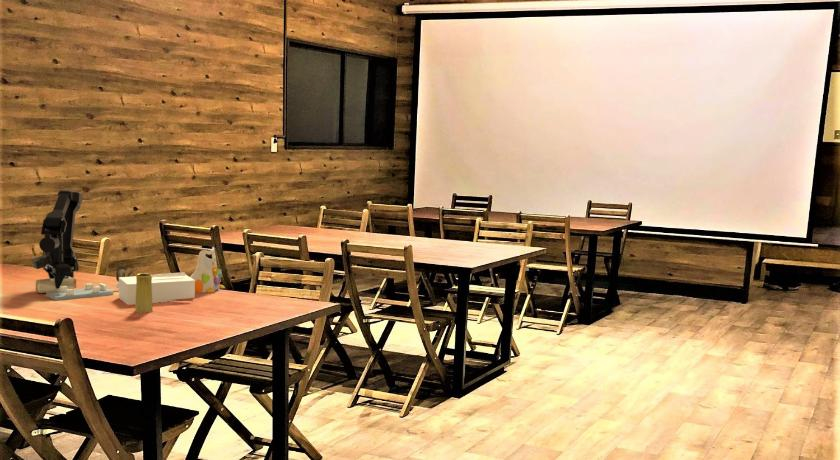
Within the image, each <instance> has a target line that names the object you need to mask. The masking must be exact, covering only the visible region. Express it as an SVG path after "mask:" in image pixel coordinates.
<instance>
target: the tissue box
mask: <svg viewBox="0 0 840 460" xmlns="http://www.w3.org/2000/svg"><path fill="white" fill-rule="evenodd" d="M146 274H149V272H148V273H147V272H146ZM151 275H152V277H151V278H152V304H159V303H158V302H161V303H168V302H167V301H176V302H179V301H178V300H186V299H195V295H196V292H195V280H194V279H192V278H190V276H188V275H187V274H186V272H184V271H183V272H173V273H172V272H171V273H159V274H151ZM118 284H119V288H118V299H119V300H121V302H123V303H124V304H126V305H127V306H128V305H129V306H130V305H136V275H135V276H129V277H126V276H125V277H119V282H118Z"/></svg>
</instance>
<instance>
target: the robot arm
mask: <svg viewBox="0 0 840 460" xmlns="http://www.w3.org/2000/svg"><path fill="white" fill-rule="evenodd" d="M57 192H58V193H57V199H56V201H55V204H54V206H53V209H52V211H50V212H48V213H46V215H45V218H43V221H42V227H41V232H40V235H44V237H43V238H41V240H40V241H39V245H38V247H39V248H40V249H41V251H42V252H44V254H43V255H38V256H37V257H34V258H33V259H31V260H30V261H31V264H32V266H33V268H34V269H37V270H39V269H41V268H42V270H43V271H45V272H46V273H47V276H48V279H49V278H54V280H55V286H56V289H59V287H60V285H61V283H62V281H63V279H64V277H65V276H67V277H72V278H75V272H77V271H79V270H80V269H79V268H80V265H79V261H78V259H77V256H76V252H75V250H74V249H73V242H74V232H75V231H74V230H75V222H76V214H77V212H79V210H80V209H81V204H82V202H83V194H81V193H80V192H79V191H71V190H65V189H62V190H58V191H57Z"/></svg>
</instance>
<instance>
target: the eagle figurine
mask: <svg viewBox="0 0 840 460" xmlns="http://www.w3.org/2000/svg"><path fill="white" fill-rule="evenodd" d="M134 269H135V267H133V268H132V269H131V270H130V271H128V268H126V267H125V266H120V267H118V268H117V269H116V271H115V275H116V279H115V280H116V281H117V282H118V283H117V285H116V286H115V287H116V288H118V289H119V277H130V276H131V275H132V273H133V271H134ZM127 271H128V272H127ZM126 272H127V274H126Z"/></svg>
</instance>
